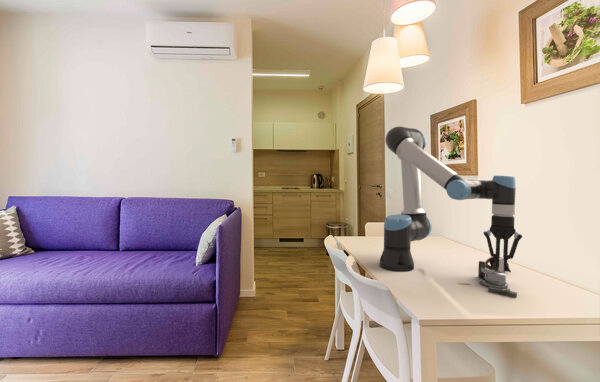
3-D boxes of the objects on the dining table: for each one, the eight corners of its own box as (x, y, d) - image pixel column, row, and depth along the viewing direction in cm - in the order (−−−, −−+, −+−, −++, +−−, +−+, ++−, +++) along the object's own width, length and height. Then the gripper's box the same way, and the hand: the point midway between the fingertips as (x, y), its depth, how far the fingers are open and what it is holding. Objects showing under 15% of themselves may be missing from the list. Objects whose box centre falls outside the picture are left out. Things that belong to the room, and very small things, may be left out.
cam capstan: (513, 289, 114) (513, 272, 114) (486, 288, 115) (487, 271, 115) (491, 276, 129) (492, 261, 128) (468, 275, 129) (469, 260, 129)
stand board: (452, 288, 119) (453, 278, 119) (469, 277, 133) (469, 268, 133) (515, 303, 106) (515, 291, 105) (526, 288, 119) (526, 278, 119)
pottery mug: (517, 278, 133) (511, 262, 131) (495, 287, 135) (488, 271, 133) (502, 263, 145) (496, 248, 143) (481, 271, 147) (475, 257, 145)
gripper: (521, 215, 125) (519, 275, 126) (483, 213, 131) (481, 270, 132) (524, 217, 118) (522, 280, 119) (484, 215, 124) (482, 275, 125)
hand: (500, 275), depth 126 cm, fingers closed
